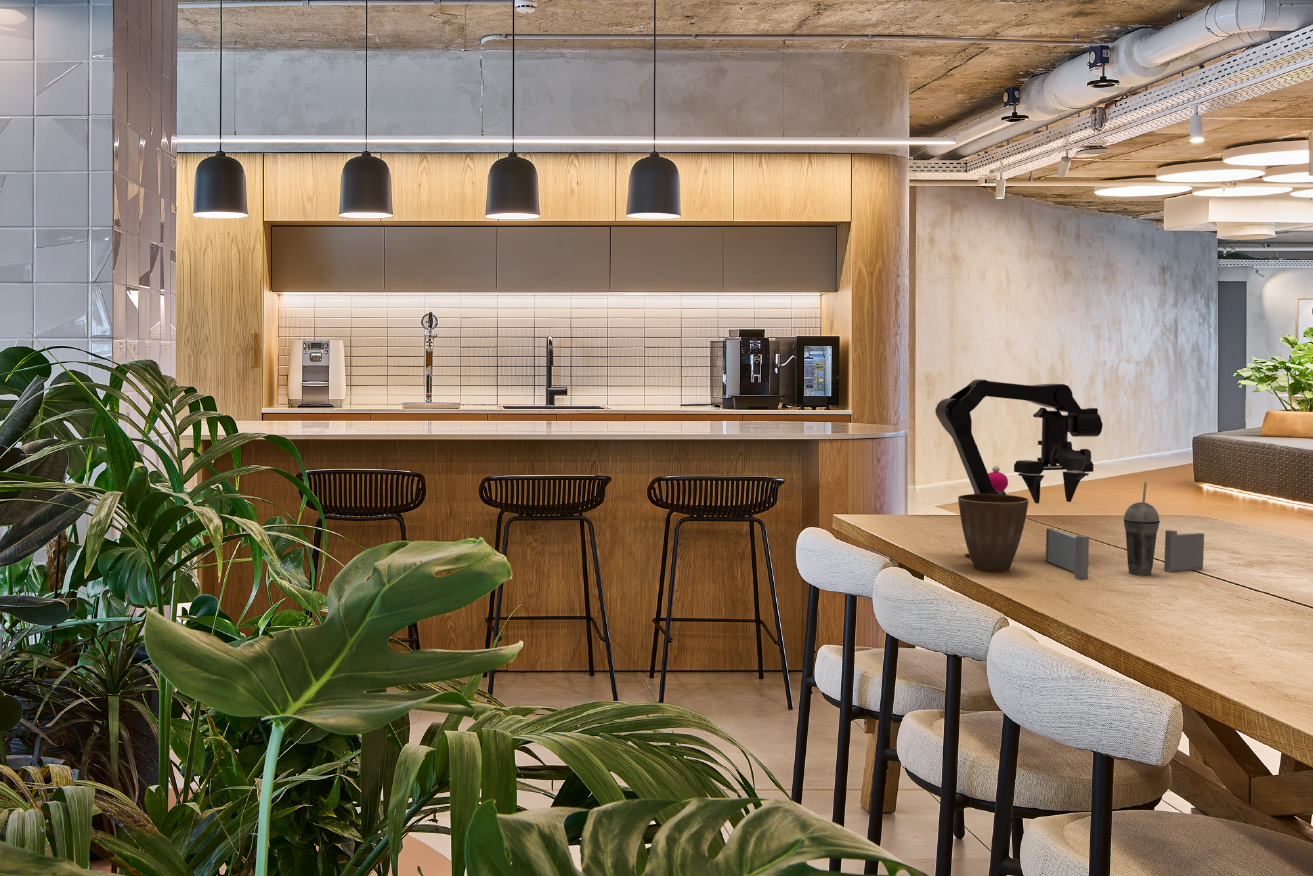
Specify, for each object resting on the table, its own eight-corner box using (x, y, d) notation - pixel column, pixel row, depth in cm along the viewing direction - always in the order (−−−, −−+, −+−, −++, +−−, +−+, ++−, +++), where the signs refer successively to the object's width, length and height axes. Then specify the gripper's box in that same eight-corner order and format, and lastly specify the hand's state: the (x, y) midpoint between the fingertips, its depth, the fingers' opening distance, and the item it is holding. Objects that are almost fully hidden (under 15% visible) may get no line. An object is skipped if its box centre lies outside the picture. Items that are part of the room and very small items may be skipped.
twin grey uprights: (1080, 579, 215) (1082, 537, 215) (1074, 577, 217) (1076, 535, 216) (1204, 569, 226) (1205, 529, 225) (1197, 568, 228) (1198, 528, 227)
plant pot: (1031, 577, 217) (1033, 503, 216) (959, 574, 220) (961, 501, 219) (1021, 564, 232) (1023, 494, 231) (953, 561, 235) (955, 493, 234)
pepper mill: (1013, 546, 256) (1015, 467, 255) (984, 546, 256) (986, 467, 255) (1003, 541, 263) (1005, 464, 262) (975, 541, 263) (977, 464, 262)
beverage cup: (1114, 572, 222) (1117, 481, 221) (1133, 568, 227) (1135, 479, 225) (1147, 578, 216) (1149, 484, 215) (1165, 574, 221) (1167, 482, 219)
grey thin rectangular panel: (1088, 575, 218) (1089, 541, 217) (1081, 575, 218) (1083, 541, 217) (1051, 560, 235) (1052, 528, 235) (1045, 560, 235) (1046, 528, 235)
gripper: (1045, 439, 229) (1043, 508, 230) (1111, 438, 235) (1109, 505, 236) (1013, 436, 239) (1011, 502, 240) (1077, 435, 245) (1075, 499, 246)
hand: (1052, 502), depth 240 cm, fingers open, 9 cm apart
